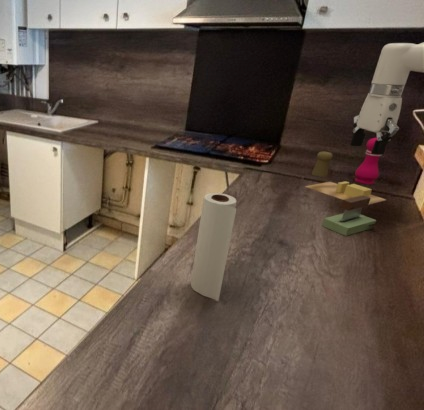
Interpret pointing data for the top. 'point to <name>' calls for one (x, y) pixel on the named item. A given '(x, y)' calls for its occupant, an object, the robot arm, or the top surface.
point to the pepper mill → (368, 165)
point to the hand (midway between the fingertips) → (365, 149)
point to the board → (331, 190)
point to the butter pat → (341, 186)
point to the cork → (322, 164)
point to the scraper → (354, 207)
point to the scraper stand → (348, 224)
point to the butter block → (357, 191)
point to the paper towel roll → (213, 244)
